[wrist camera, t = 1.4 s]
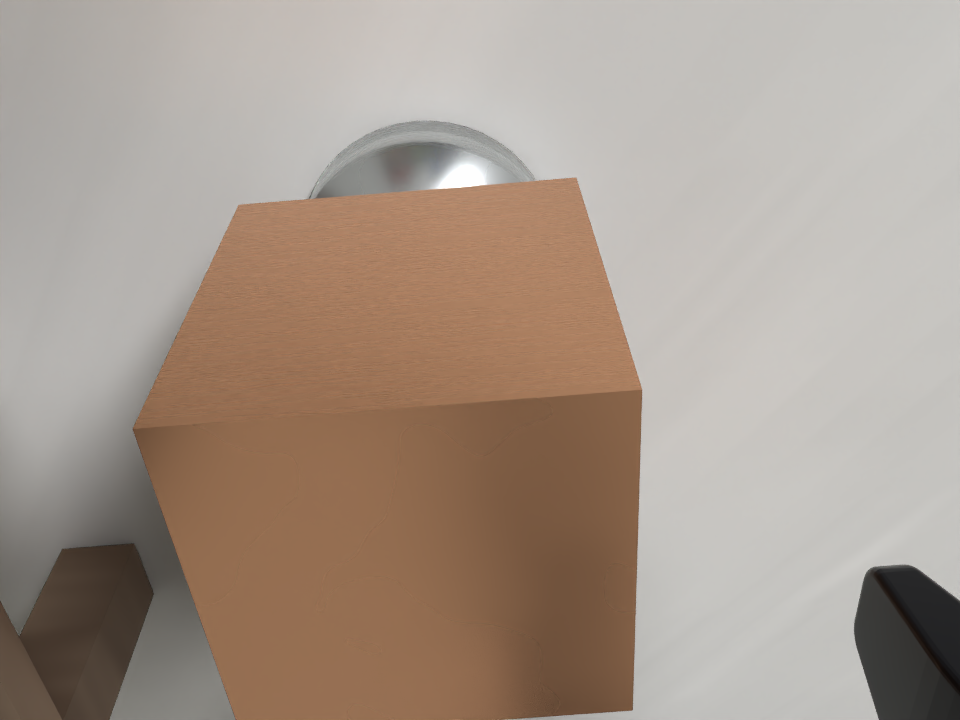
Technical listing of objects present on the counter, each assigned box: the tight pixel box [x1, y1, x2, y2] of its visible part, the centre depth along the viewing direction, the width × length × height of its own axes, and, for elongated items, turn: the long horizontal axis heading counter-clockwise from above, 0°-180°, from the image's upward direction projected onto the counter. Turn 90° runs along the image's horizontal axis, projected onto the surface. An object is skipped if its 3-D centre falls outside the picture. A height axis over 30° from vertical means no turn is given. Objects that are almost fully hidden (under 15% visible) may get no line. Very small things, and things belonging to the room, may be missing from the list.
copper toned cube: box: [133, 121, 642, 720], centre depth 13 cm, size 5×5×8 cm
